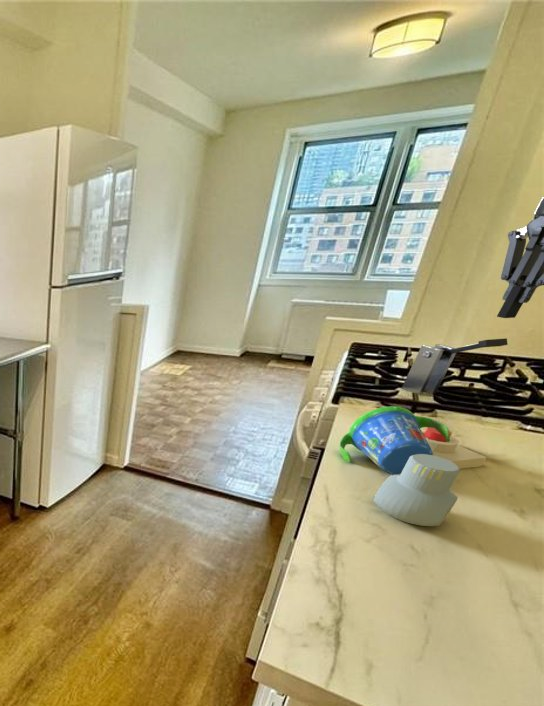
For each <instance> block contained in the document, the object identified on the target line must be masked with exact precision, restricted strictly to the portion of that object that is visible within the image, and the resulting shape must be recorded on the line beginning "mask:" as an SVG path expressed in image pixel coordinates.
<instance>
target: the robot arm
mask: <svg viewBox="0 0 544 706" xmlns="http://www.w3.org/2000/svg"><path fill="white" fill-rule="evenodd" d="M507 238H508V248H507V251H506V255H505V259H504V262H503V263H504V264H503V267H502V271H501V275H500V279H501V280H502V281H505V282H507V283H508V285H507V289H506V290H505V292H504V294H503V296H502V301H504V302H503V304H502V306H501V308H500V310H499V311H498V313H497V315H496V317H497V318H502V319H515V318H516V317H517V315H518V313H519V312H520V309H521V308H522V306H523V304H528V302H529V301H530V300H531V299H532V298H533V295H534V293H535V292H536V290H537V288H539V287H541V286H544V196H543V197H542V198H541V200H540V202H539V204H538V205H537V207H536V209H535V211H534V217H533V218H532V219H531V221H529V222H528V223H527V224H526V226H525V227H523V228H520V229H517V230H511V231H509V232H508V233H507ZM527 238H528V242H527ZM526 243H527V244H526Z"/></svg>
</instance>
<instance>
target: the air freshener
mask: <svg viewBox="0 0 544 706" xmlns="http://www.w3.org/2000/svg"><path fill="white" fill-rule="evenodd" d="M460 472H461V468H460V469H459V468H458V466H457V465H456V464H454V463H453V462H451V461H449V460H446V459H444V458H441V457H437V456H433V455H427V454H416V455H412V456H410V458H409V459H408V461H407V463H406V465H405V467H404V469H403V471H402V472H401V474H395V475H393V474H390V475H389V476H388V477H387V478H386V479H385V480H384V482H383V483H382V484H381V485H380V487H379V488H378V489H377V491H376V493H375V495H374V497H373V502H374V504H375V505H376V506H377V507H378V508H379V509H380V510H382V511H383V512H384V513H385V514H387V515H389V517H392V518H394V519H396V520H398V521H401V522H404V523H407V524H411V525H415V526H422V527H440V525H442V523H443V522H444V521H445V519H446V518H447V516H448V515H449V513H450V512H451V510H452V509H453V508H454V507H455V505H456V502H457V501H458V498H459V497H458V495H456V493H454V492H453V491H452V490H450V489H451V488H452V486H453V484H454V482H455V480H456V479H457V477H458V475H459V474H460Z"/></svg>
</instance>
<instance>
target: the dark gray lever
mask: <svg viewBox="0 0 544 706" xmlns="http://www.w3.org/2000/svg"><path fill="white" fill-rule="evenodd" d="M504 346H508V338H494V339H483V340H479V341H478V343H474V344H469V345H464V346H459V347H453V348H454V349H449V350H446V348H438V349H442V350H444V351H443V353H442V355H441V357H440V359H442V358H447V354H452V353H456V354H457V353H462V352H467V351H473V350H479V349H482V348H493V347H494V348H496V347H504Z"/></svg>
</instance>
